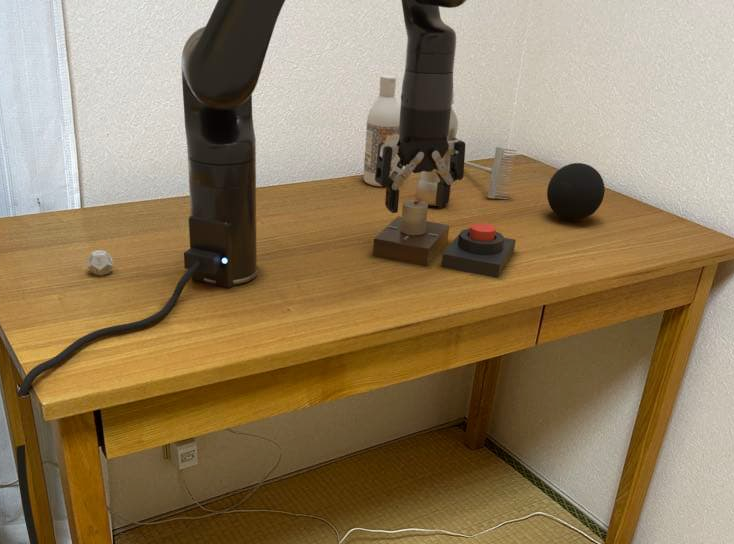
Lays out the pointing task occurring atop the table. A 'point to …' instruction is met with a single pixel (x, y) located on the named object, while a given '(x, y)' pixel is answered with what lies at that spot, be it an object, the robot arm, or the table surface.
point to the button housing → (478, 254)
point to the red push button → (482, 232)
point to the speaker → (575, 191)
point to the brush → (497, 172)
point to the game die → (100, 262)
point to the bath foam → (381, 127)
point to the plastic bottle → (430, 179)
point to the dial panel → (410, 243)
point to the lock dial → (414, 217)
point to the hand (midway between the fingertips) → (416, 209)
